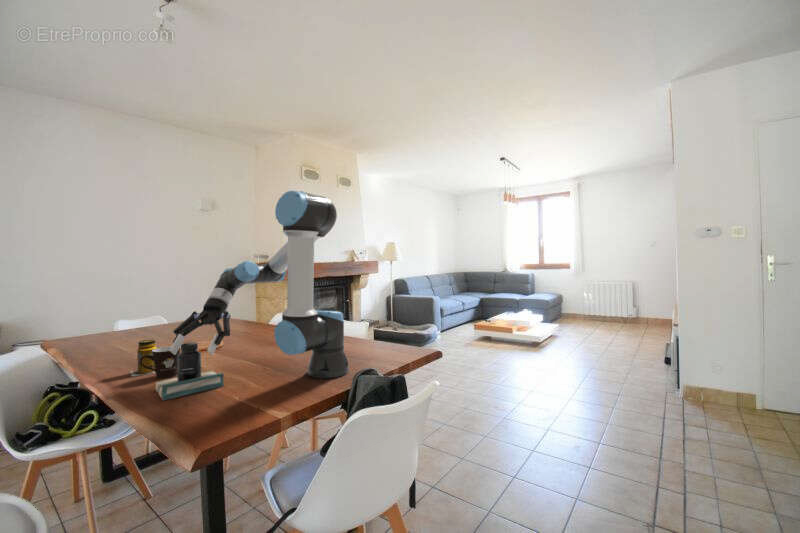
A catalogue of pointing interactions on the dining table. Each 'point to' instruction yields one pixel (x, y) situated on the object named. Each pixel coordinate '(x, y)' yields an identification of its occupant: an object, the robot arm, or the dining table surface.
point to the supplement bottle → (188, 362)
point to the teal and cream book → (189, 385)
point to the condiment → (144, 350)
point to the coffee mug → (163, 362)
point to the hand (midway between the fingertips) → (191, 352)
